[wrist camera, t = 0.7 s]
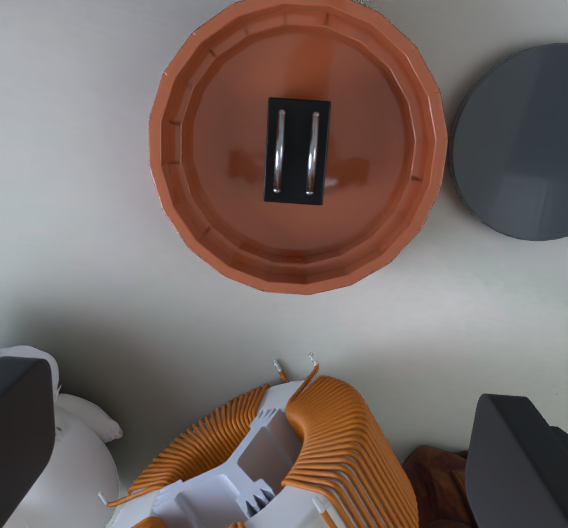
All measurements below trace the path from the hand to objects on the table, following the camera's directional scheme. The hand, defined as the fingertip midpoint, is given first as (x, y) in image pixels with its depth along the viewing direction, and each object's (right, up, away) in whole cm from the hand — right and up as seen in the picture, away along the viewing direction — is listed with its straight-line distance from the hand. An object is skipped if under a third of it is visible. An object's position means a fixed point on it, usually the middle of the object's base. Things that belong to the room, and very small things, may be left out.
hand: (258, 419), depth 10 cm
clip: (+1, +9, +19) cm, 21 cm away
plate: (+14, +9, +18) cm, 25 cm away
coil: (-1, -7, +24) cm, 25 cm away
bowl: (+1, +9, +19) cm, 21 cm away
